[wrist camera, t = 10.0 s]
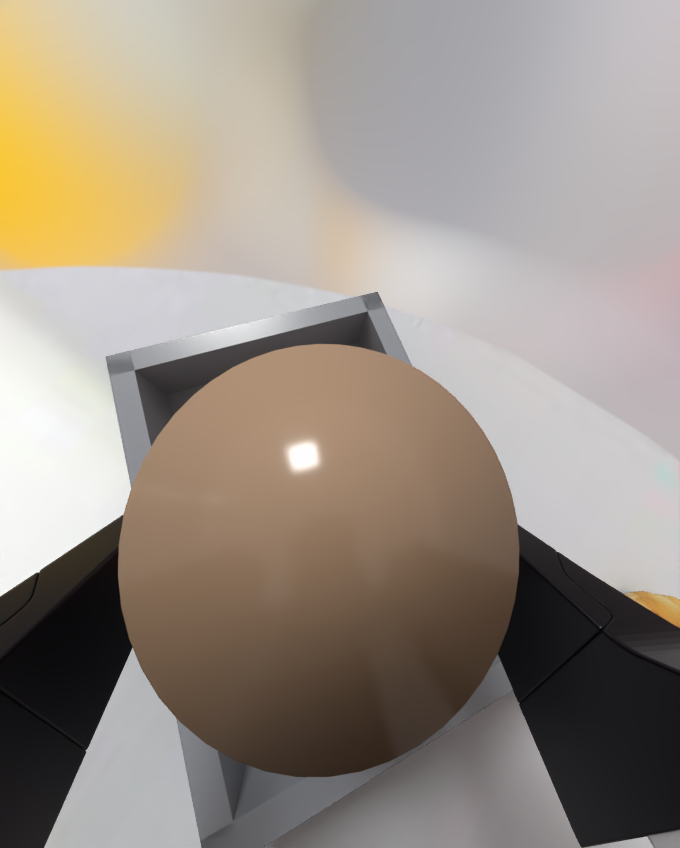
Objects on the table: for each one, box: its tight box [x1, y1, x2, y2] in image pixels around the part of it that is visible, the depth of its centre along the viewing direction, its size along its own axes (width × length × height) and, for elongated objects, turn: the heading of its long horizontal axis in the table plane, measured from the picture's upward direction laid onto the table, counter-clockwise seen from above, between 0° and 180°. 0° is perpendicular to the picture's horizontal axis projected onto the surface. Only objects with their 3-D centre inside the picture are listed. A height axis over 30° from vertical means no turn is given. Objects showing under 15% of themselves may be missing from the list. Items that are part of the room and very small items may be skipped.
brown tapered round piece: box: [118, 344, 519, 777], centre depth 11 cm, size 6×6×13 cm
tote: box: [106, 292, 513, 848], centre depth 16 cm, size 22×16×4 cm
